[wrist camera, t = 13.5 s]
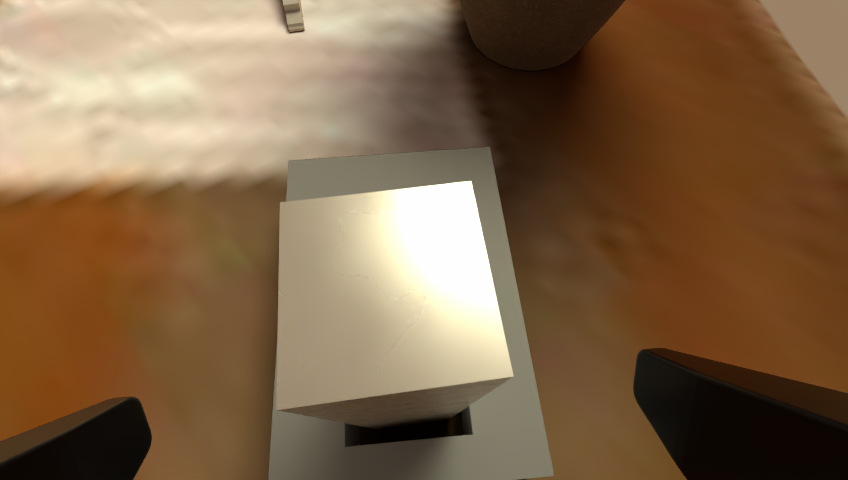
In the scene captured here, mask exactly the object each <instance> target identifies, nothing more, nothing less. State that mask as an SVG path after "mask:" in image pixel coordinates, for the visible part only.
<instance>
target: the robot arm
mask: <svg viewBox="0 0 848 480" xmlns="http://www.w3.org/2000/svg"><path fill="white" fill-rule="evenodd" d="M633 390H634V395H635V398H636V401H637V403H638V405H639V406H640V408H641V409H642V411H643V413H644V414H645V416H646V417H647V419H648V421H649V422H650V424H651V425H652V427H653V429H654V430H655V432H656V433H657V435H658V436H659V438H660V440H661V441H662V443H663V444H664V446H665V448H666V449H667V451H668V452H669V454H670V456H671V457H672V459H673V460H674V462H675V463H676V465H677V466H678V468H679V469H680V471H681V472H682V473H683V475H684V476H685V477H686V479H687V480H848V393H844V392H840V391H836V390H832V389H828V388H824V387H820V386H816V385H812V384H807V383H803V382H799V381H795V380H791V379H787V378H783V377H779V376H775V375H771V374H767V373H763V372H759V371H754V370H750V369H746V368H742V367H738V366H734V365H730V364H726V363H722V362H718V361H714V360H710V359H706V358H701V357H697V356H693V355H689V354H685V353H681V352H677V351H673V350H669V349H665V348H653V349H643V350H641V351H640V352H639V353H638V355H637V360H636V368H635V376H634V384H633ZM151 440H152V436H151V430H150V427H149V425H148V422H147V419H146V416H145V413H144V410H143V407H142V405H141V402H140V401H139V399H137V398H136V397H120V398H112V399H108V400H106V401H103V402H101V403H98V404H95V405H93V406H90V407H88V408H85V409H83V410H80V411H77V412H75V413H72V414H70V415H67V416H65V417H62V418H59V419H57V420H54V421H52V422H49V423H47V424H44V425H41V426H39V427H36V428H34V429H31V430H29V431H26V432H24V433H21V434H18V435H16V436H13V437H11V438H8V439H6V440H3V441H0V480H133V479H134V477H135V475H136V473H137V472H138V470H139V468H140V466H141V464H142V462H143V460H144V459H145V457H146V455H147V453H148V451H149V449H150V445H151Z"/></svg>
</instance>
